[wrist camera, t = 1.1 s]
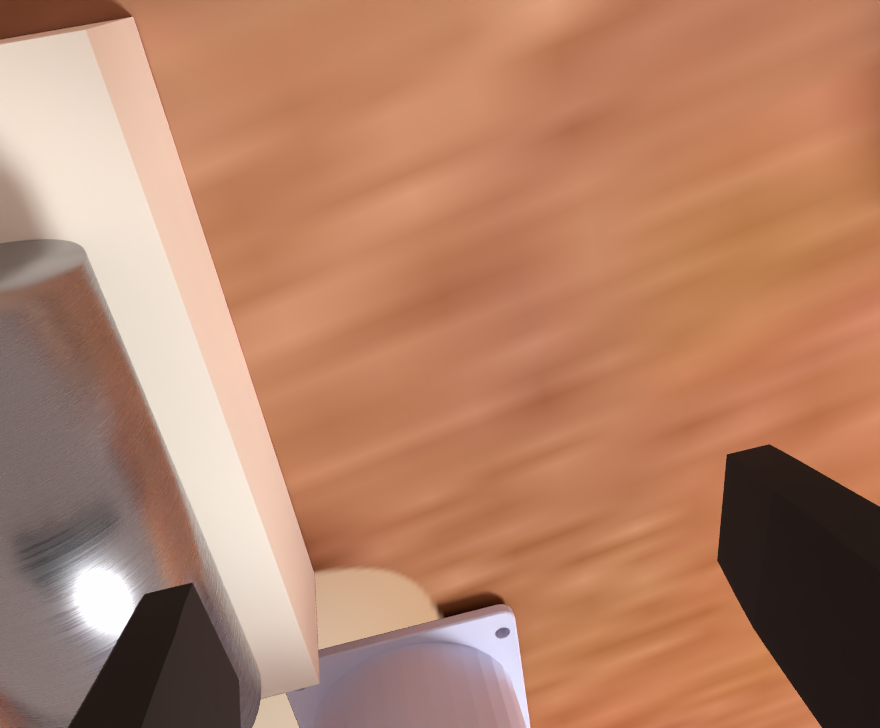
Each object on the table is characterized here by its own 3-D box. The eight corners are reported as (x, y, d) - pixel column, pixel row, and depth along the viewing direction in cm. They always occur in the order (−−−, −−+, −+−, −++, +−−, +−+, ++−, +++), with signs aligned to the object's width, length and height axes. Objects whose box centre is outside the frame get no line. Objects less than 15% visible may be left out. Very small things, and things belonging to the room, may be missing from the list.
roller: (187, 603, 18) (303, 689, 16) (10, 745, 16) (114, 880, 13) (14, 227, 13) (140, 258, 11) (-291, 335, 11) (-225, 414, 8)
